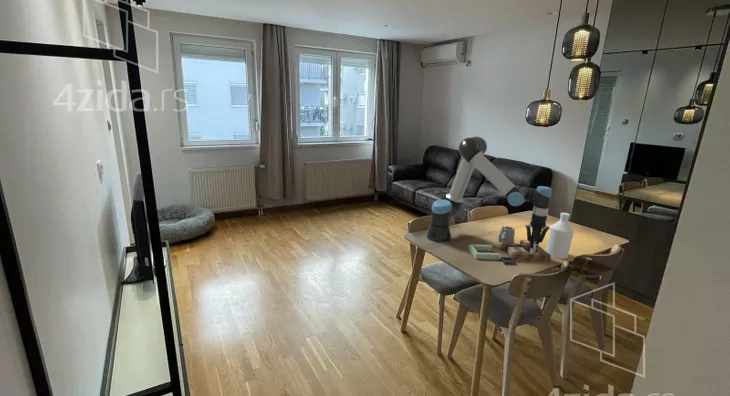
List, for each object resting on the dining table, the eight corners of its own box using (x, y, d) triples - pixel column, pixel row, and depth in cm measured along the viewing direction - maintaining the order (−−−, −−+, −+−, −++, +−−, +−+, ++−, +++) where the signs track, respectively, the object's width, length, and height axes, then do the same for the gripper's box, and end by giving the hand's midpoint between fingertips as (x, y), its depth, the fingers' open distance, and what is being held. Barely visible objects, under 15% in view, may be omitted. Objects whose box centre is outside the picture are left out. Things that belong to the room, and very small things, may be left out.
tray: (504, 264, 187) (504, 261, 186) (500, 259, 192) (500, 256, 192) (515, 264, 187) (515, 262, 187) (510, 259, 193) (511, 257, 192)
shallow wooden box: (511, 259, 192) (512, 254, 191) (500, 248, 207) (501, 243, 206) (549, 261, 193) (550, 255, 192) (536, 249, 207) (537, 244, 206)
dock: (475, 258, 192) (476, 253, 191) (468, 249, 204) (468, 244, 203) (499, 259, 192) (500, 254, 191) (490, 249, 204) (491, 245, 204)
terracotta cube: (523, 249, 208) (524, 242, 207) (519, 246, 212) (520, 240, 211) (529, 248, 209) (530, 242, 208) (524, 245, 213) (525, 239, 212)
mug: (516, 244, 214) (519, 226, 211) (502, 247, 209) (505, 228, 206) (506, 239, 221) (509, 222, 218) (493, 242, 216) (495, 224, 212)
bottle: (573, 257, 198) (582, 216, 192) (556, 259, 195) (565, 217, 188) (556, 249, 209) (565, 210, 203) (540, 251, 206) (548, 211, 199)
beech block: (511, 257, 196) (513, 251, 195) (507, 253, 201) (508, 246, 200) (525, 258, 196) (527, 251, 195) (521, 253, 202) (522, 247, 201)
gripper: (547, 212, 196) (540, 250, 202) (525, 211, 195) (518, 250, 202) (555, 216, 189) (546, 256, 195) (531, 216, 188) (524, 255, 195)
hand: (532, 253), depth 199 cm, fingers closed
